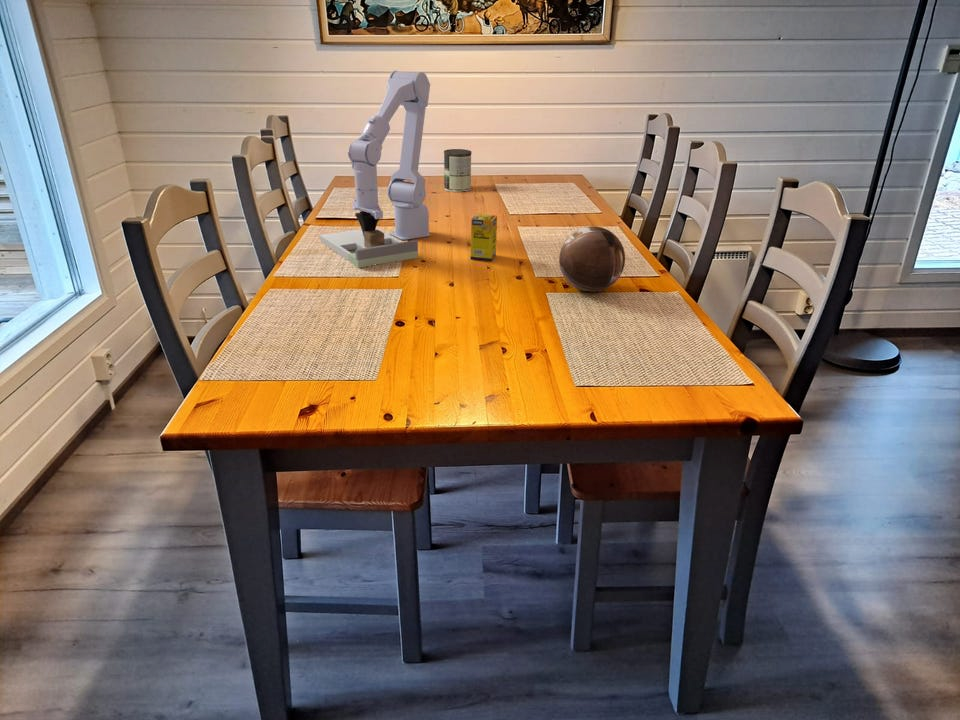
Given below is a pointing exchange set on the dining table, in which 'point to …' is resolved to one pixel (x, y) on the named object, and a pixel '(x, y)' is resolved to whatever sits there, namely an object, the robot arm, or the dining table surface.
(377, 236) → the walnut block
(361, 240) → the board
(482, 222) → the supplement box
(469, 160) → the coffee can
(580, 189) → the dining table surface
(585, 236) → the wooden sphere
